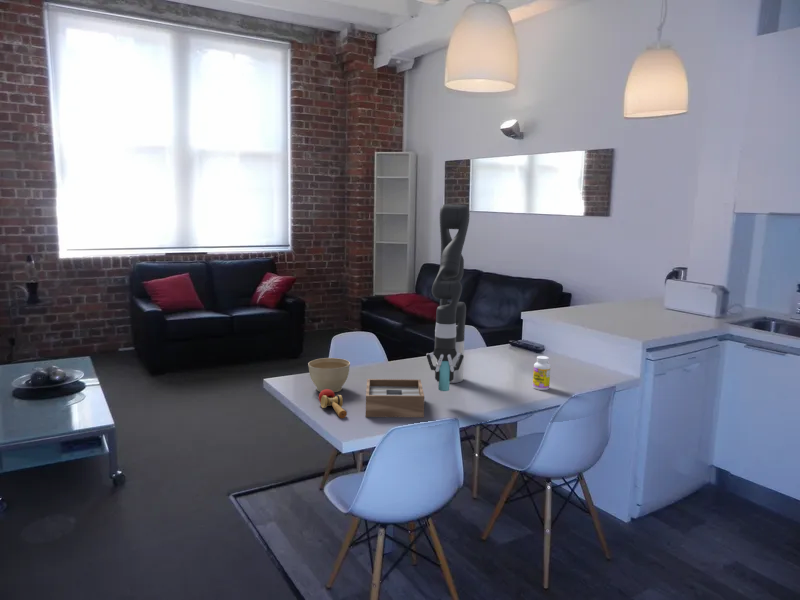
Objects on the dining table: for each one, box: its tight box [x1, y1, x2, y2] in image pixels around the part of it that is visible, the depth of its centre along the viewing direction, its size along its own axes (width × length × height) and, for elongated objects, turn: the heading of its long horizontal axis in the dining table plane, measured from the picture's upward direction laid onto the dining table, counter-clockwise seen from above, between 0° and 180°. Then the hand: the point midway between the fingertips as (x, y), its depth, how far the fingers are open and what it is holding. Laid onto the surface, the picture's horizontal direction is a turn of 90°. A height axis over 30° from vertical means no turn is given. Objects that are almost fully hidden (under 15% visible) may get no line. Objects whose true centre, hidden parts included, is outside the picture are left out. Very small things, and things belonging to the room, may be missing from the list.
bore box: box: [365, 378, 425, 418], centre depth 215 cm, size 20×20×8 cm
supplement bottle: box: [532, 355, 552, 391], centre depth 241 cm, size 7×7×13 cm
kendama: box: [318, 389, 348, 419], centre depth 211 cm, size 8×6×18 cm
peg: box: [437, 361, 450, 392], centre depth 216 cm, size 4×4×11 cm
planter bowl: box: [307, 357, 351, 393], centre depth 233 cm, size 16×16×11 cm
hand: (444, 380), depth 217 cm, fingers closed on peg, 4 cm apart
